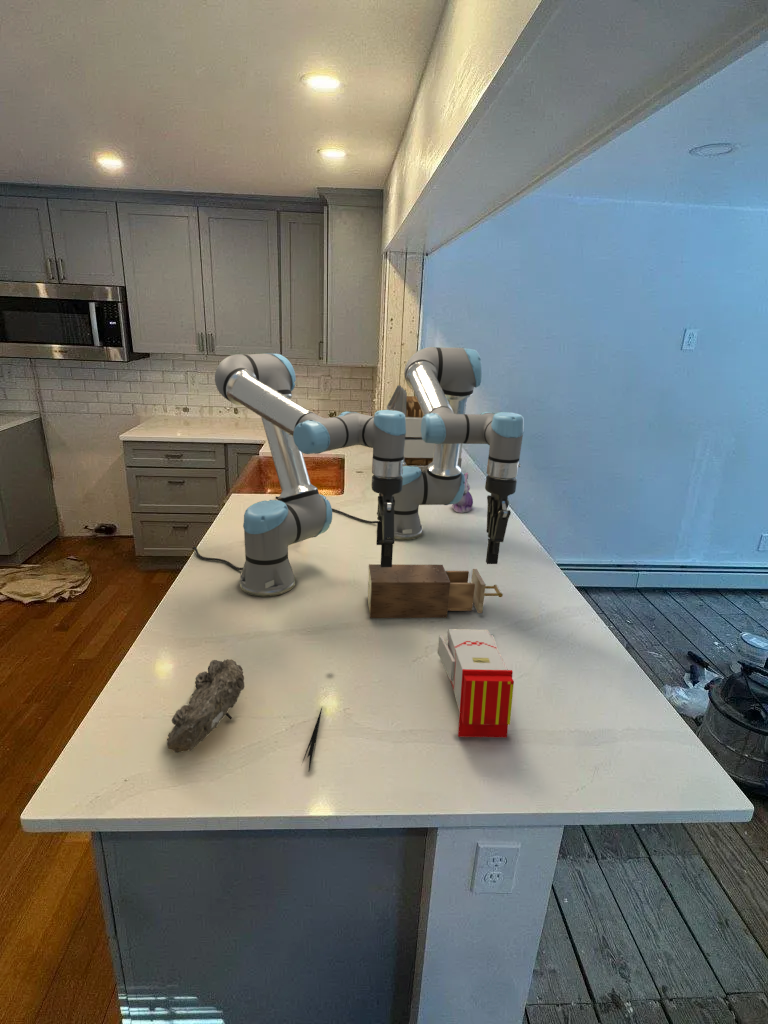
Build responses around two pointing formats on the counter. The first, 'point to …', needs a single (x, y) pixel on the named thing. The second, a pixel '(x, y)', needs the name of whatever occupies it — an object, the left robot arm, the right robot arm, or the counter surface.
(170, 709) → the counter surface
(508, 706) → the white and red box
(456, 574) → the drawer
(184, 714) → the fossil
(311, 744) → the feather
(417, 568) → the cabinet
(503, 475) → the right robot arm
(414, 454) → the transformer
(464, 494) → the figurine
